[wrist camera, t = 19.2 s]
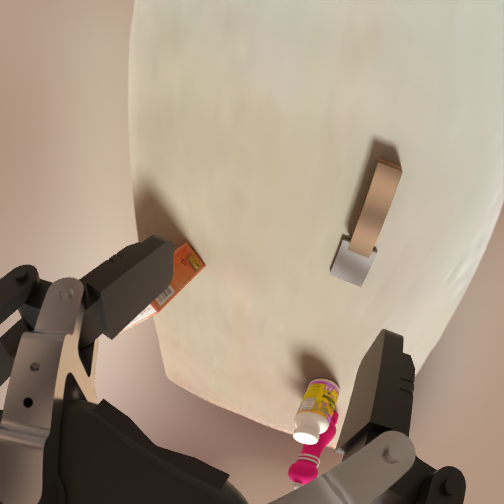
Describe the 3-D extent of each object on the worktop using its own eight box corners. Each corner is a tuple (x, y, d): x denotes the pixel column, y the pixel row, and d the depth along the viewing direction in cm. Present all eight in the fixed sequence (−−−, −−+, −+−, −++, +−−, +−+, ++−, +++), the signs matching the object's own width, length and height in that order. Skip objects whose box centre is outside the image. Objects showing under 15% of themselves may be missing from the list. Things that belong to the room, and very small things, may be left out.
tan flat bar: (371, 154, 34) (370, 159, 31) (408, 169, 32) (410, 175, 30) (330, 271, 44) (326, 282, 41) (361, 283, 42) (359, 295, 40)
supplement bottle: (345, 394, 55) (328, 446, 45) (318, 398, 59) (298, 447, 49) (331, 374, 54) (312, 429, 43) (303, 379, 57) (281, 430, 47)
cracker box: (208, 267, 53) (152, 299, 66) (187, 239, 52) (136, 278, 65) (159, 316, 42) (112, 338, 55) (133, 283, 41) (93, 315, 54)
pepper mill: (323, 402, 59) (291, 481, 43) (346, 416, 58) (320, 494, 42) (304, 411, 63) (272, 483, 47) (327, 425, 63) (299, 496, 47)
